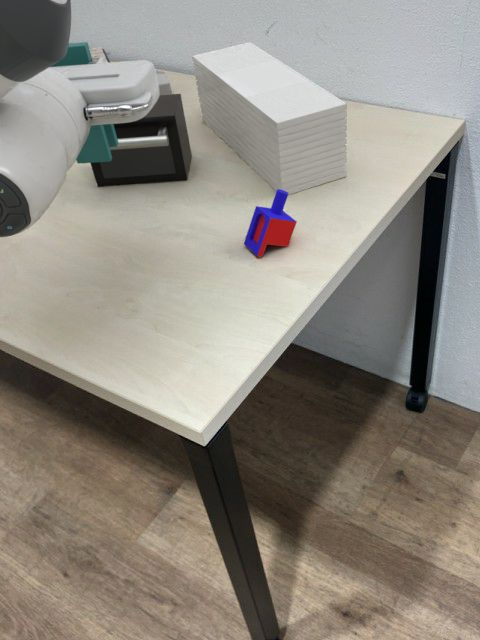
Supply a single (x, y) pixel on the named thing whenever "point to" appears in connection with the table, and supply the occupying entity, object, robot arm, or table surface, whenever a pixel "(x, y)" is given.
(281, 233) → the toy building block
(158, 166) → the toaster oven
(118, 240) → the table surface
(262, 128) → the stack of papers
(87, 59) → the clip
